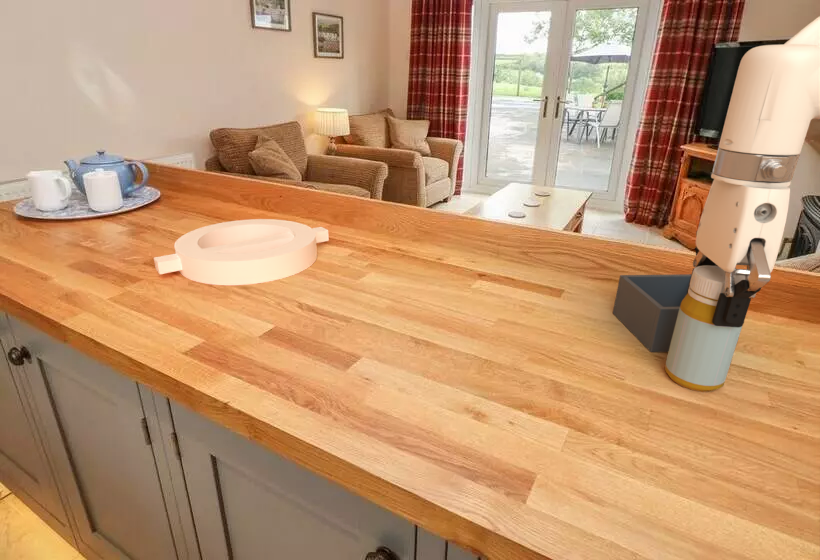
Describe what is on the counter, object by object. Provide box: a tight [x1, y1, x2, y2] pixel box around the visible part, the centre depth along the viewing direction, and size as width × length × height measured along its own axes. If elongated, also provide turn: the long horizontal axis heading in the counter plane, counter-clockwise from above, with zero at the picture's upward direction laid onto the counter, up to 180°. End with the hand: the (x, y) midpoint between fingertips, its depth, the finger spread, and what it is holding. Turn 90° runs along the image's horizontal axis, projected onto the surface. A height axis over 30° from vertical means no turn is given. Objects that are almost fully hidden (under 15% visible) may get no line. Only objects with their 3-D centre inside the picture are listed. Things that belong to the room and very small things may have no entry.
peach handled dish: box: [153, 218, 330, 286], centre depth 103 cm, size 28×28×5 cm
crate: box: [612, 273, 692, 353], centre depth 76 cm, size 13×13×7 cm
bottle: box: [664, 265, 745, 393], centre depth 62 cm, size 7×7×15 cm
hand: (712, 309), depth 61 cm, fingers closed on bottle, 7 cm apart
